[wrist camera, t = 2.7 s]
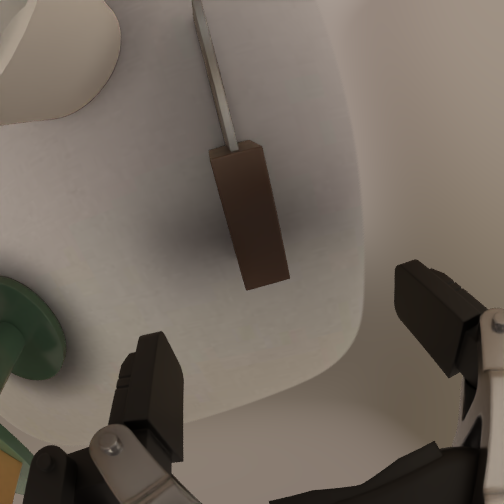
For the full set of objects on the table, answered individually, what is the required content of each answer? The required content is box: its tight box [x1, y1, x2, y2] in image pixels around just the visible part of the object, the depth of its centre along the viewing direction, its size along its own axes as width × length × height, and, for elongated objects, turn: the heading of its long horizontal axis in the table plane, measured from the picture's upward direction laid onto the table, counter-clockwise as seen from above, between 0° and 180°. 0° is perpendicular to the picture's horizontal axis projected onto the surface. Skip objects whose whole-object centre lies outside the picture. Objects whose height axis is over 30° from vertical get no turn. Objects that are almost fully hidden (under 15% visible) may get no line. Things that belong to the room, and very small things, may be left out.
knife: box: [192, 0, 290, 290], centre depth 15 cm, size 15×2×4 cm, turn 13°
